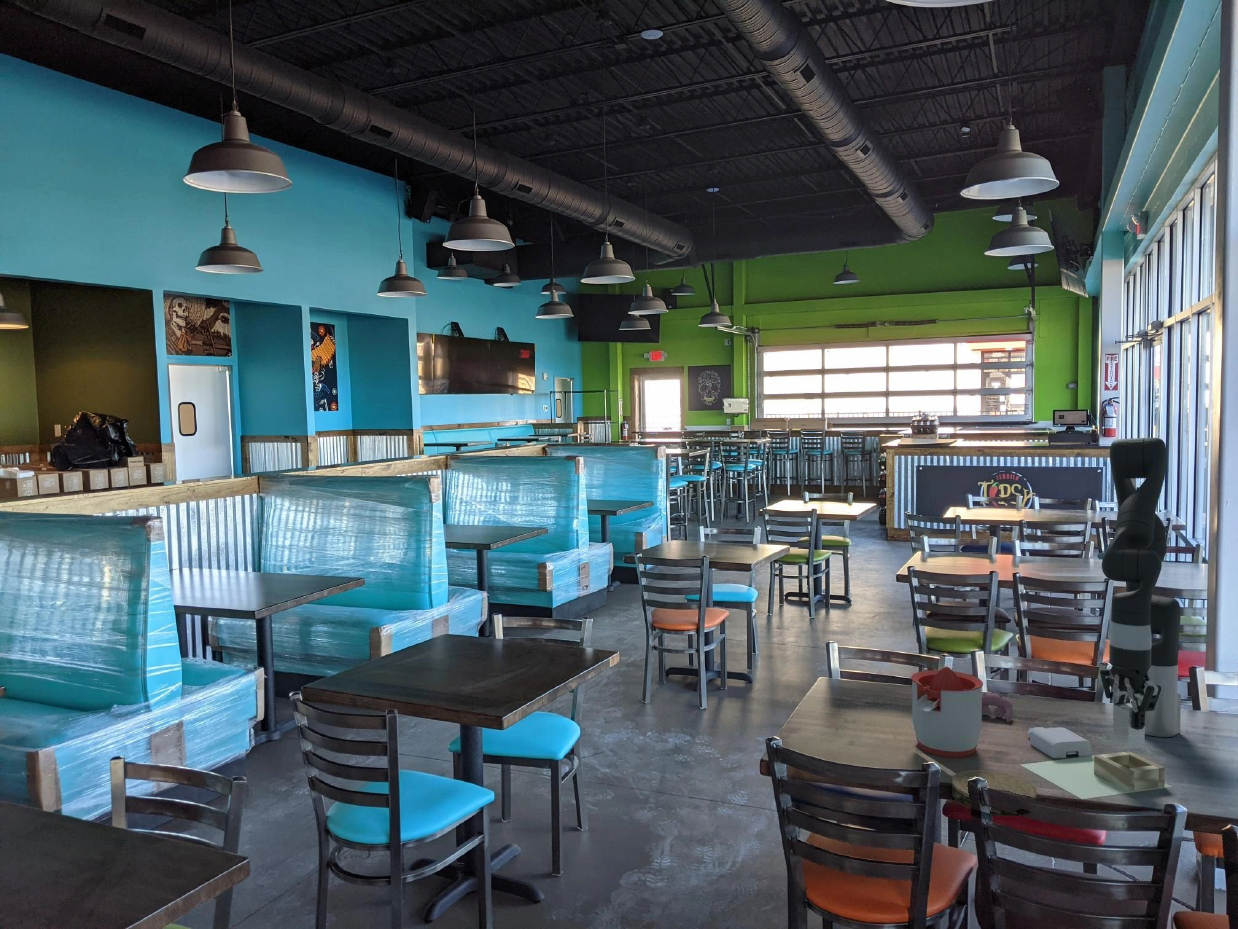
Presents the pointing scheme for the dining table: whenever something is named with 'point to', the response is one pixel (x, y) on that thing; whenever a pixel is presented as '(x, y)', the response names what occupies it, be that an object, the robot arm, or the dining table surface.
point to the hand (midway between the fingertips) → (1128, 724)
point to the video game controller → (1001, 702)
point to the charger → (1059, 742)
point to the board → (1078, 777)
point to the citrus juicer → (947, 711)
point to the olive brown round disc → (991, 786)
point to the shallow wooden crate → (1129, 771)
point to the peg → (1126, 728)
